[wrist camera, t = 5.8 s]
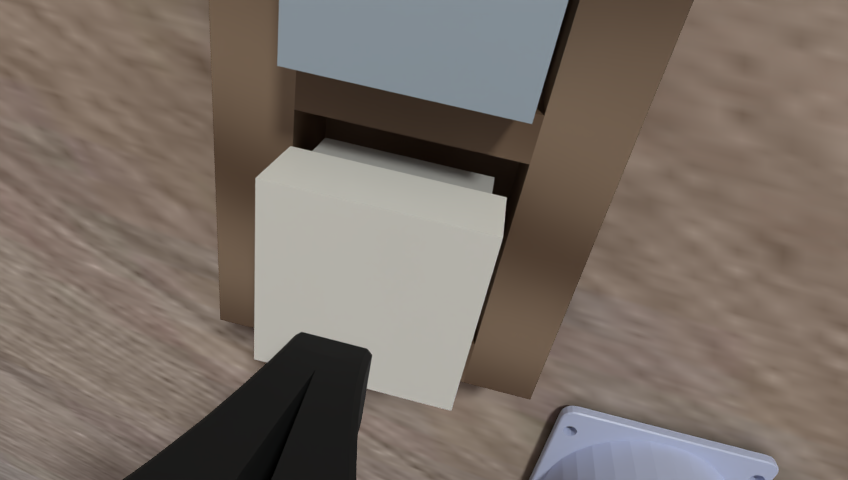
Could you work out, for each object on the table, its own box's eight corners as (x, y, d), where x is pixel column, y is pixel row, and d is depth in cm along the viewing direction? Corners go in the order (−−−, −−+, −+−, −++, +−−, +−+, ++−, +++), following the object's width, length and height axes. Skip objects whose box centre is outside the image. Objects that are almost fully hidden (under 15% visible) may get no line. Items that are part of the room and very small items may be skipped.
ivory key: (465, 322, 16) (450, 410, 13) (304, 281, 16) (253, 359, 13) (509, 169, 13) (503, 237, 10) (314, 123, 13) (255, 177, 11)
